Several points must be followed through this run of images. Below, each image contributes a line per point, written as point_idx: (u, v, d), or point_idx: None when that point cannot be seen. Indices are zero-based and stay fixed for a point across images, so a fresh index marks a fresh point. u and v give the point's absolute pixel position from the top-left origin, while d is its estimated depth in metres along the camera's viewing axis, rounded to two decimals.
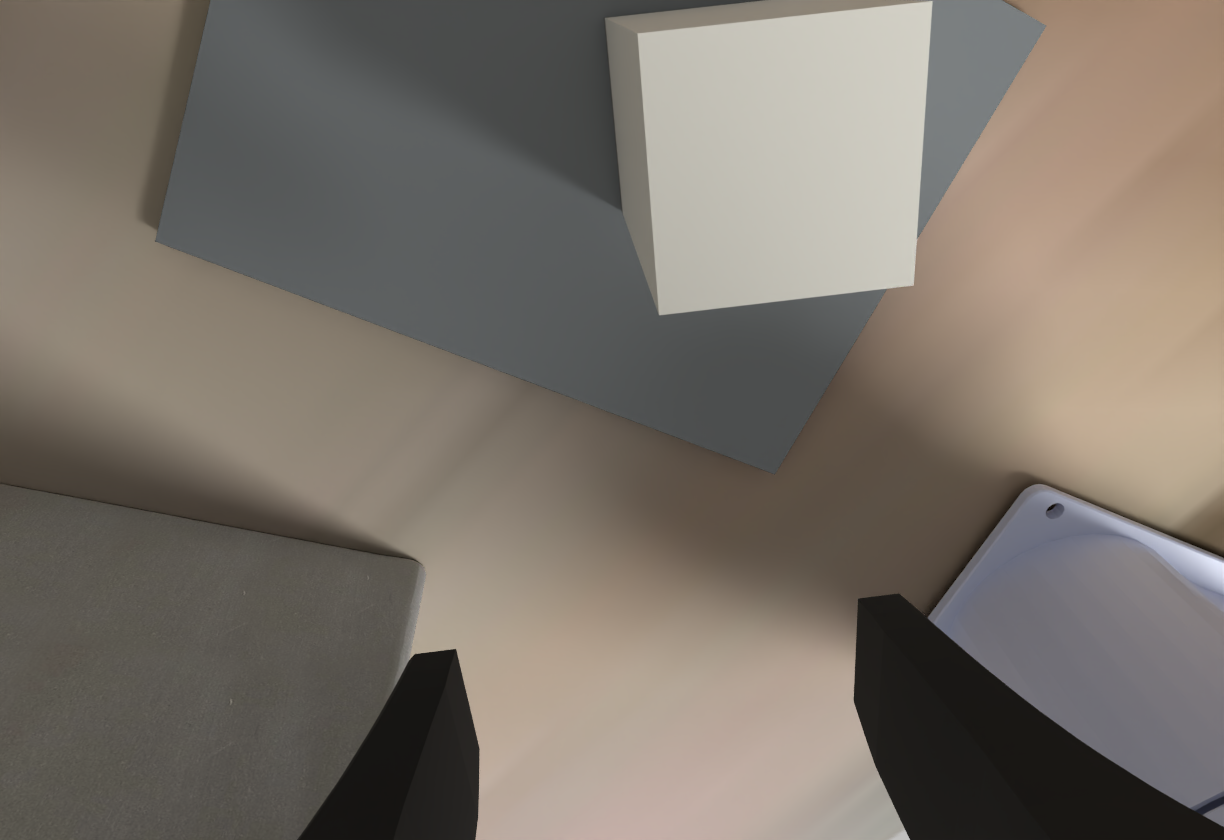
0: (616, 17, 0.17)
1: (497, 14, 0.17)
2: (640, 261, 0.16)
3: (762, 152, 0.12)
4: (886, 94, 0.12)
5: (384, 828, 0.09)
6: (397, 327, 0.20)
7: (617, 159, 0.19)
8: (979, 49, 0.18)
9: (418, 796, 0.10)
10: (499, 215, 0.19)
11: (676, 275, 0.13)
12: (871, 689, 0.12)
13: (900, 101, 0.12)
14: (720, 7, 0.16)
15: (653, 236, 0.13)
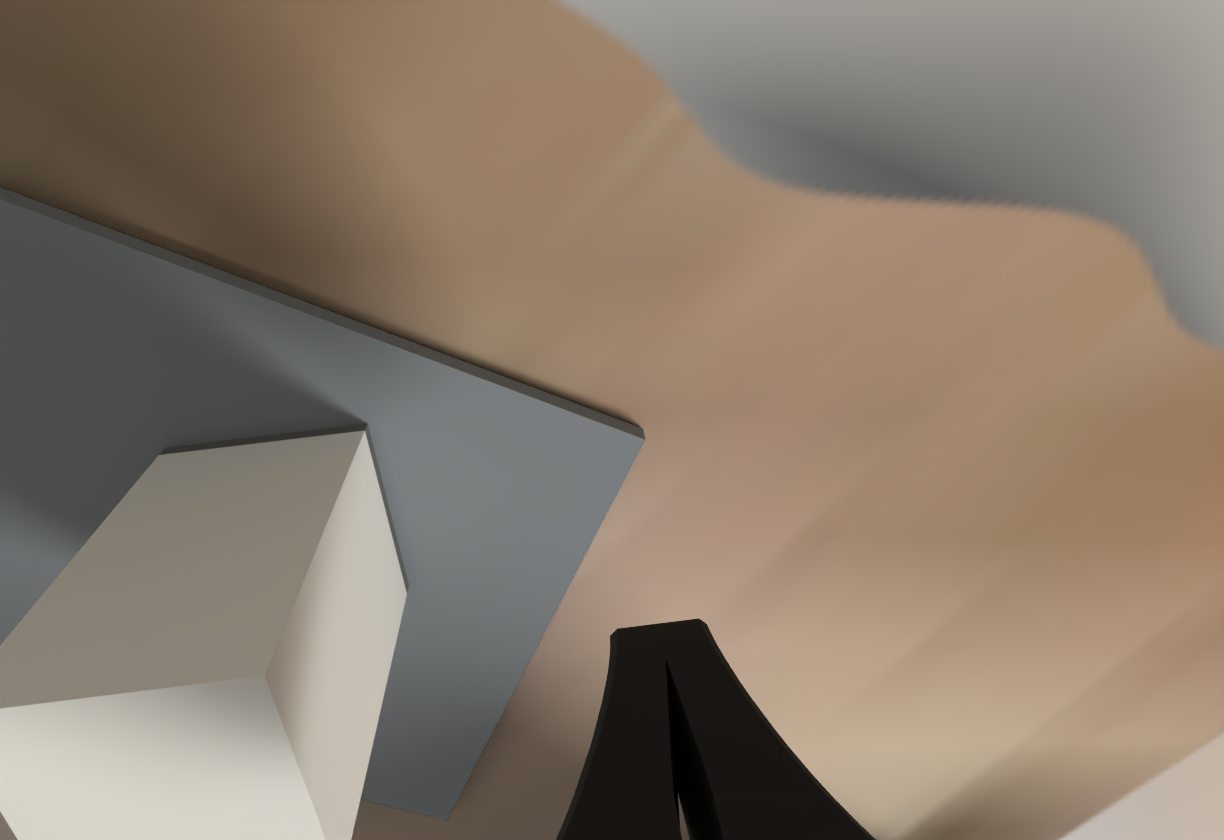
0: (159, 465, 0.16)
1: (48, 448, 0.17)
2: None
3: (125, 794, 0.11)
4: (244, 746, 0.11)
5: (661, 792, 0.09)
6: None
7: None
8: (577, 461, 0.18)
9: (672, 763, 0.10)
10: None
11: None
12: None
13: (263, 749, 0.11)
14: (251, 471, 0.16)
15: None
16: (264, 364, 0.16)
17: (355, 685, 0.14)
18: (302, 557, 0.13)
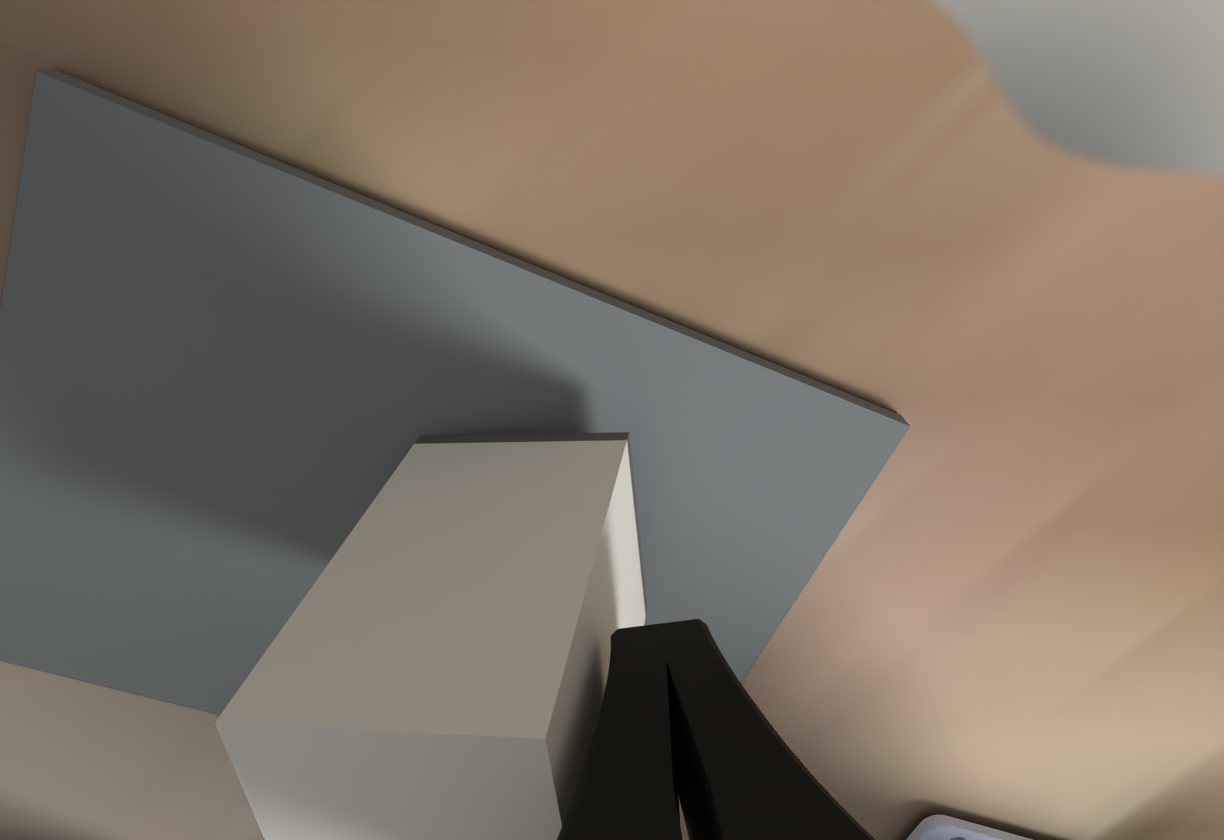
0: (416, 455, 0.15)
1: (301, 437, 0.16)
2: None
3: (379, 830, 0.11)
4: (510, 805, 0.10)
5: (662, 792, 0.09)
6: None
7: None
8: (838, 449, 0.17)
9: (672, 763, 0.10)
10: None
11: None
12: None
13: (529, 812, 0.10)
14: (510, 475, 0.14)
15: None
16: (533, 348, 0.16)
17: None
18: (574, 590, 0.12)
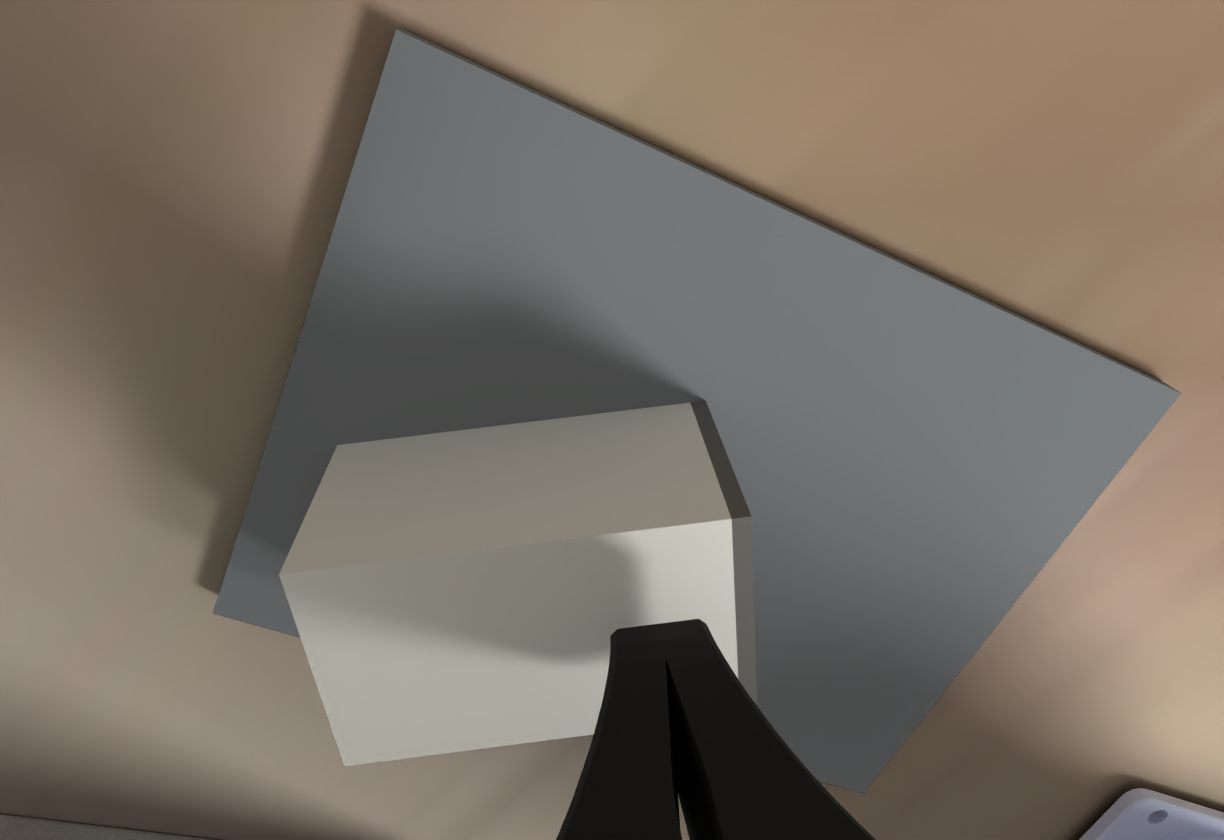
0: (668, 409, 0.16)
1: (590, 401, 0.16)
2: None
3: None
4: None
5: (661, 792, 0.09)
6: None
7: None
8: (1107, 416, 0.17)
9: (672, 763, 0.10)
10: None
11: None
12: None
13: None
14: (640, 466, 0.14)
15: None
16: (830, 312, 0.16)
17: (485, 688, 0.14)
18: (452, 546, 0.13)
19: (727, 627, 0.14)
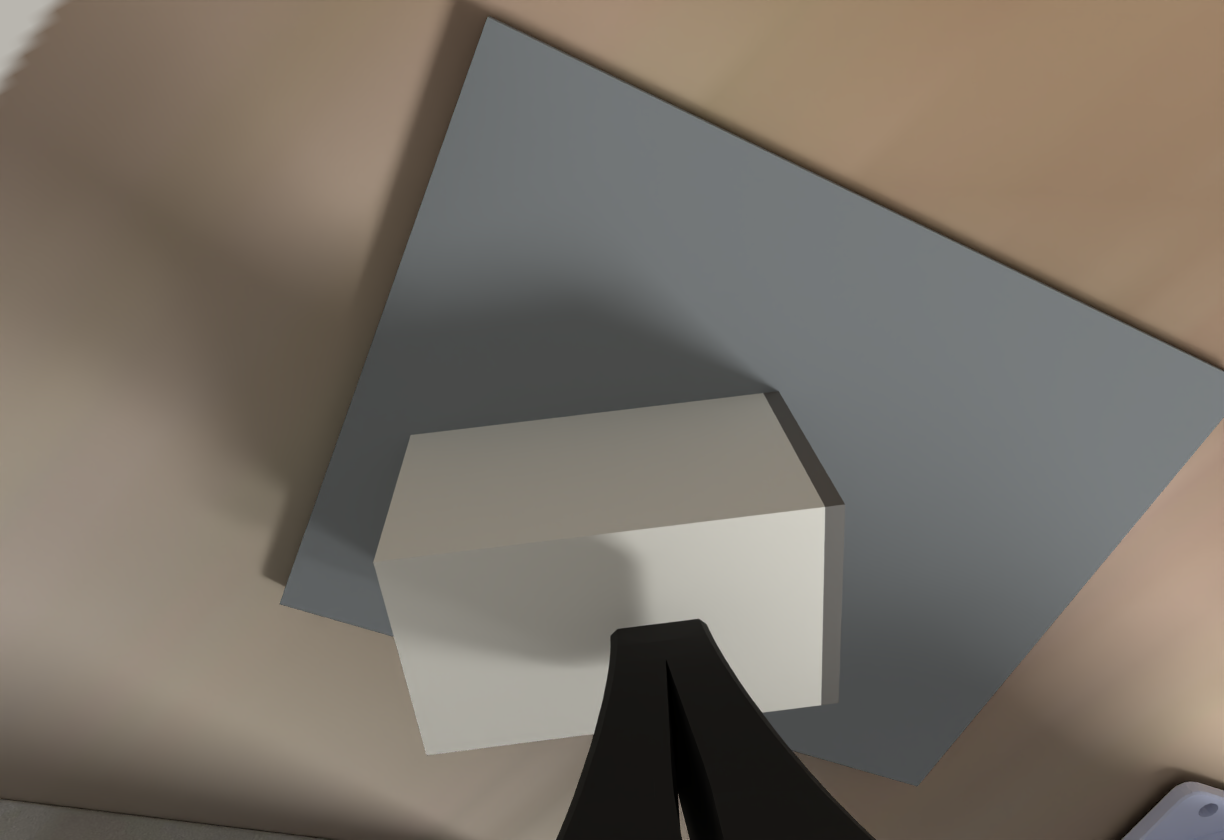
0: (742, 400, 0.16)
1: (664, 391, 0.16)
2: None
3: None
4: None
5: (661, 792, 0.09)
6: None
7: None
8: (1176, 408, 0.17)
9: (672, 764, 0.10)
10: None
11: None
12: None
13: None
14: (723, 455, 0.14)
15: None
16: (905, 302, 0.16)
17: (571, 677, 0.14)
18: (545, 534, 0.13)
19: (814, 616, 0.14)
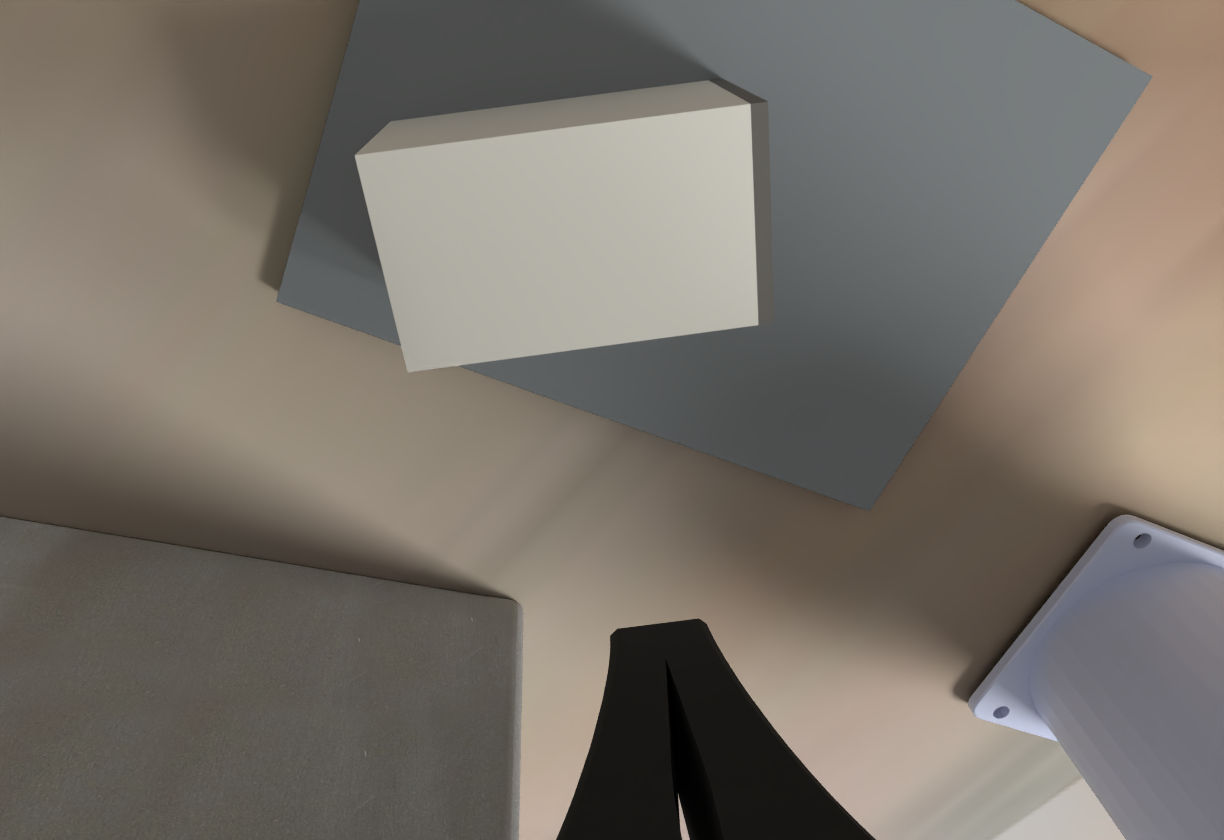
0: (688, 83, 0.18)
1: (618, 77, 0.18)
2: None
3: None
4: None
5: (661, 792, 0.09)
6: (507, 378, 0.21)
7: None
8: (1086, 100, 0.19)
9: (672, 763, 0.10)
10: None
11: None
12: None
13: None
14: (667, 99, 0.16)
15: None
16: None
17: (533, 287, 0.16)
18: (505, 134, 0.14)
19: (747, 224, 0.15)
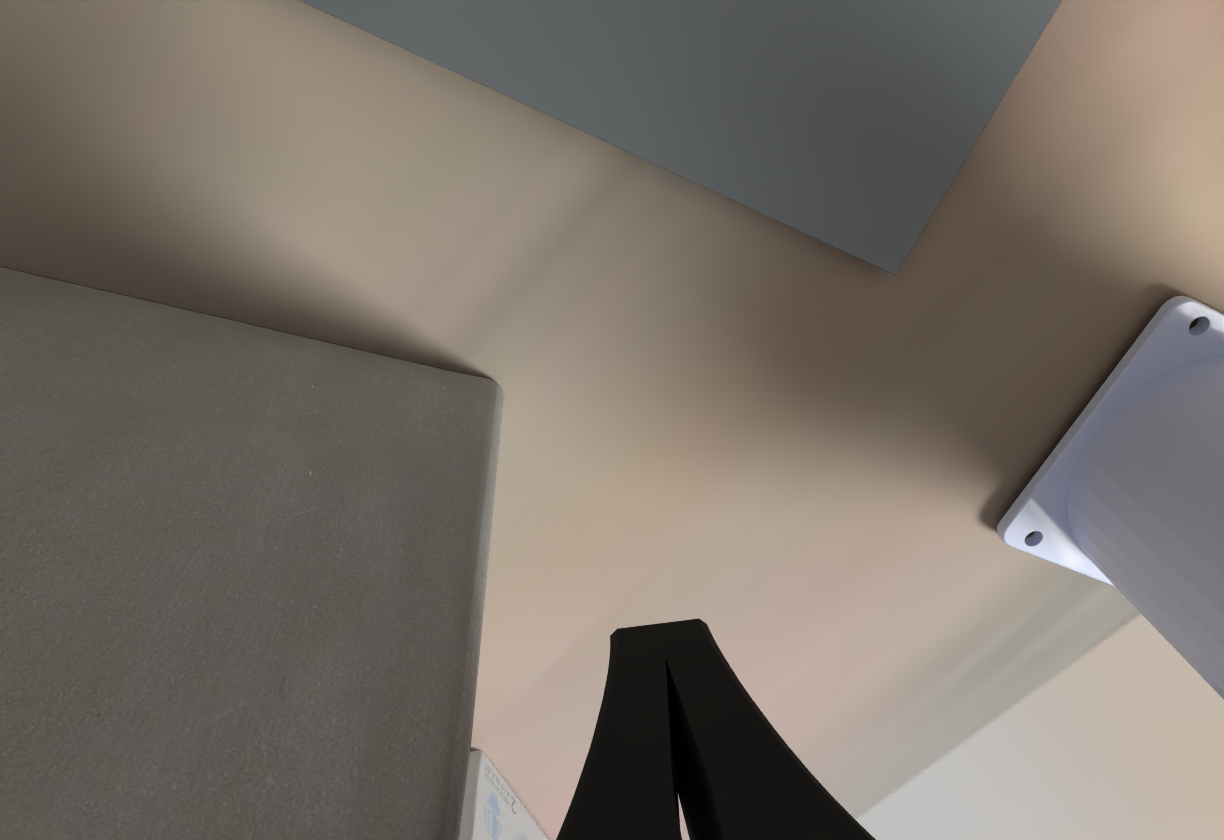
0: None
1: None
2: None
3: None
4: None
5: (661, 792, 0.09)
6: (487, 80, 0.18)
7: None
8: None
9: (672, 763, 0.10)
10: None
11: None
12: None
13: None
14: None
15: None
16: None
17: None
18: None
19: None
